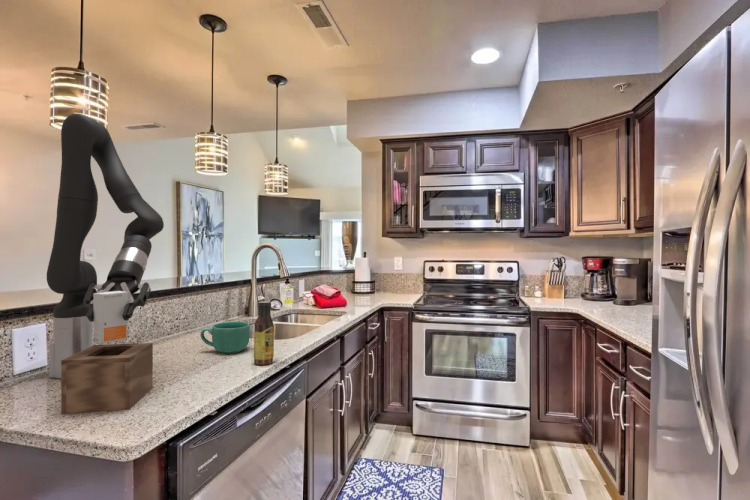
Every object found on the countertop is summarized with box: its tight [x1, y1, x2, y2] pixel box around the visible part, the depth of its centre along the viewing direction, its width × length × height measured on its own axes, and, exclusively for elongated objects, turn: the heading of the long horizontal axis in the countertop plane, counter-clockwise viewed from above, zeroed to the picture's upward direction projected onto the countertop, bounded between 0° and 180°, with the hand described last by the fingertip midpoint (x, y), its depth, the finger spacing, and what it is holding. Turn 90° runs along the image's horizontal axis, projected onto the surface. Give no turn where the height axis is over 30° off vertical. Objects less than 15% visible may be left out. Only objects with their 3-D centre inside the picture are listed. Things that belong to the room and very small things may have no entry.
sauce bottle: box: [253, 300, 275, 366], centre depth 126 cm, size 6×6×20 cm
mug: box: [199, 321, 251, 354], centre depth 140 cm, size 17×13×10 cm
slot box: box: [60, 342, 154, 415], centre depth 95 cm, size 14×14×12 cm
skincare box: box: [93, 291, 129, 345], centre depth 95 cm, size 6×4×12 cm
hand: (108, 319), depth 94 cm, fingers closed on skincare box, 7 cm apart
